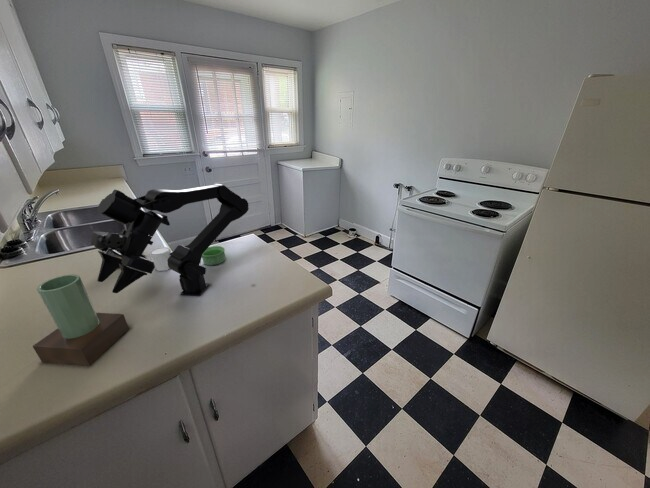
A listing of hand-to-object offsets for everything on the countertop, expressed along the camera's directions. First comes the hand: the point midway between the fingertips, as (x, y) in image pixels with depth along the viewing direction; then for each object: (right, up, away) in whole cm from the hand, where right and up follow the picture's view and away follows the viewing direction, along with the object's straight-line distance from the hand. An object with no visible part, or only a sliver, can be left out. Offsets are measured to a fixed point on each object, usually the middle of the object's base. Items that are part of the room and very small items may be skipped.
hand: (106, 287), depth 67 cm
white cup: (-7, +2, +35) cm, 36 cm away
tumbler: (-4, -10, -2) cm, 11 cm away
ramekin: (+11, +4, +39) cm, 41 cm away
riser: (-4, -14, -1) cm, 15 cm away
